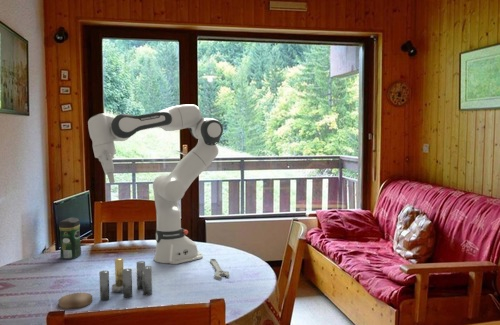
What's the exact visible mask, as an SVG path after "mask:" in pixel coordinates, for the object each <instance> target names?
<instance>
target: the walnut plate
mask: <svg viewBox="0 0 500 325" xmlns="http://www.w3.org/2000/svg"><path fill="white" fill-rule="evenodd" d="M92 302H93V295H92V294H91V293H88V292H74V293H69V294H66V295H64V296H62V297H60V298H59V299H58V308H60V309H64V310H76V309H77V310H78V309H81V308H85V307H87V306H90V304H92Z"/></svg>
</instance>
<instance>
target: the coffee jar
mask: <svg viewBox="0 0 500 325" xmlns="http://www.w3.org/2000/svg"><path fill="white" fill-rule="evenodd" d="M58 225H59V226H58V227H59V228H58V229H59V232H60V258H61V259H63V260H69V259H75V258H77V257H79V256H80V255H82V246H81V234H80V229H81V228H80V227H81V223H80V219H79V218H78V217H72V216H71V217H68V218H66V219H63V220H61V221H59V222H58Z"/></svg>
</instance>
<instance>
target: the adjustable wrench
mask: <svg viewBox="0 0 500 325" xmlns="http://www.w3.org/2000/svg"><path fill="white" fill-rule="evenodd" d="M209 262H210V265H212V268H213V270H215V273H213V274H214V276H213V277H214V279H215V278H216V280H219V279H221V280H223V278H222V277H224V276H226V277H229V278H230V271H226V270H224V269H222V267H221V266H220V265H219V263H218V262H219V261H218V260H217V259H216V258H210V260H209ZM226 277H225V278H226Z"/></svg>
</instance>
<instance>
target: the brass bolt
mask: <svg viewBox="0 0 500 325" xmlns="http://www.w3.org/2000/svg"><path fill="white" fill-rule="evenodd" d="M114 265H115V266H114V270H115V272H114V273H115V276H114V277H115V283H113V284H112V285H111V292H112V293H114V294H123V269H124V258H122V257H117V258H115V259H114Z"/></svg>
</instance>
